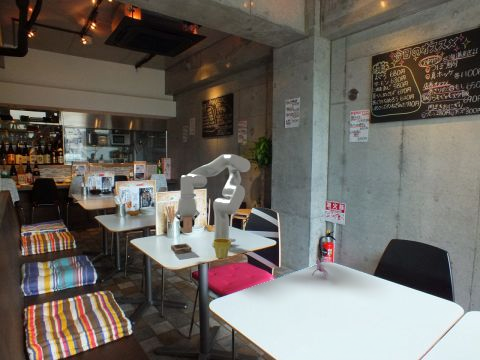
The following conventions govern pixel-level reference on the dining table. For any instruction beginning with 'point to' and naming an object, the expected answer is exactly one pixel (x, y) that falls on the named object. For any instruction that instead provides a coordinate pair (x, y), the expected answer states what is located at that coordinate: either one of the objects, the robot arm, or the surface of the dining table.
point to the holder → (183, 249)
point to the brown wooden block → (187, 224)
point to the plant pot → (221, 247)
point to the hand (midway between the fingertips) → (187, 226)
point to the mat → (186, 255)
